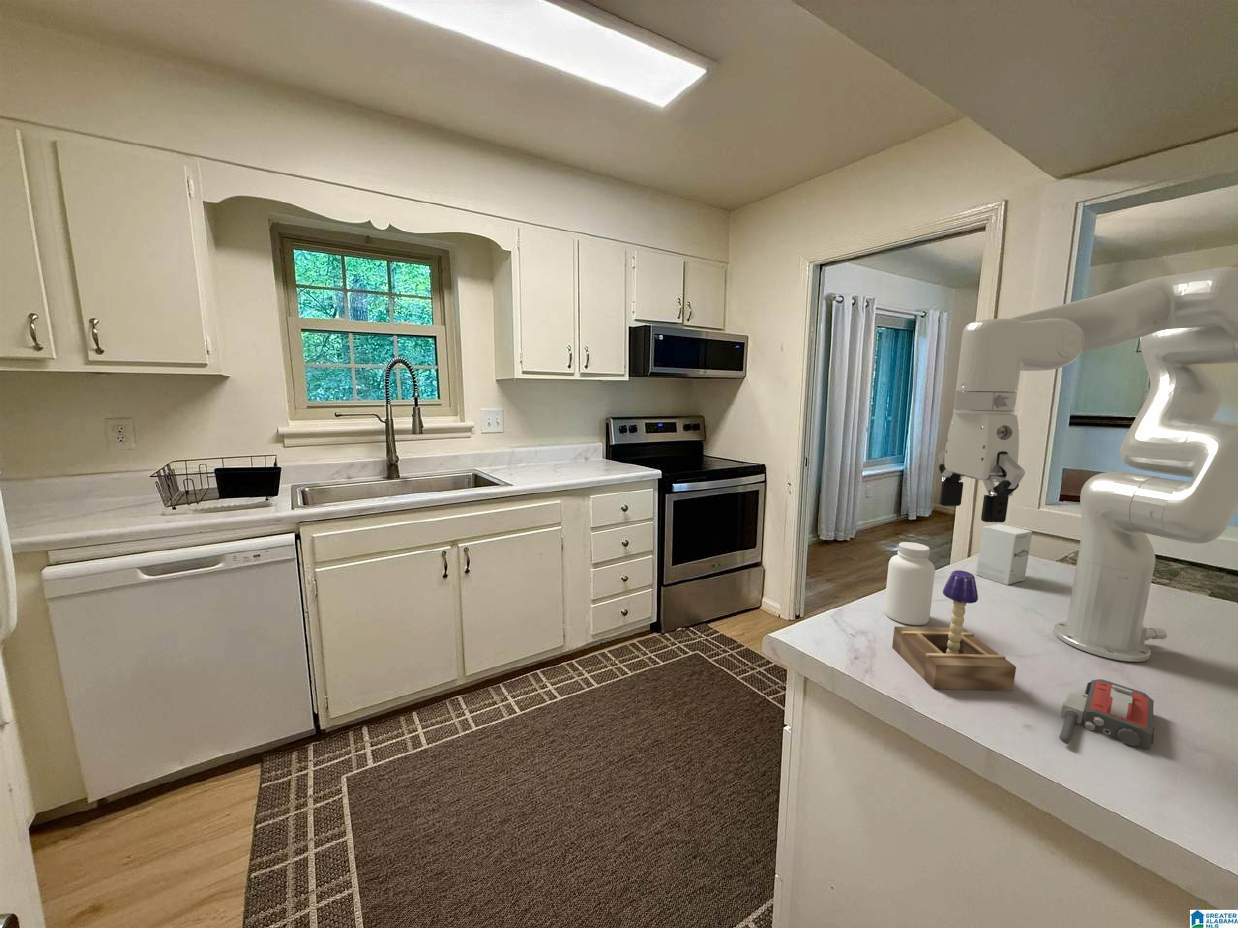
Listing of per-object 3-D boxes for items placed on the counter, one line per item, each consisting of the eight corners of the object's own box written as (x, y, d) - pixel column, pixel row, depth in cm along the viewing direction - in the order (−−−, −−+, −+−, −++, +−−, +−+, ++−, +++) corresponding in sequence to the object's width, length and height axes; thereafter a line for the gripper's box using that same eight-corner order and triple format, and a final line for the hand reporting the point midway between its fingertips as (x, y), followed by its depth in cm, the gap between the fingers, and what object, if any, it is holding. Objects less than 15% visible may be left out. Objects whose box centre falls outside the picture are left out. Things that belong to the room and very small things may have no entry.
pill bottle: (925, 612, 101) (934, 542, 98) (931, 630, 93) (941, 555, 91) (882, 605, 104) (889, 537, 102) (884, 621, 97) (892, 548, 94)
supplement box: (1008, 586, 115) (1015, 534, 113) (974, 574, 122) (981, 525, 120) (1025, 581, 118) (1033, 530, 116) (992, 570, 125) (999, 522, 123)
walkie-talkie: (1070, 684, 77) (1051, 745, 64) (1075, 659, 77) (1056, 715, 63) (1152, 712, 71) (1149, 786, 58) (1158, 684, 70) (1156, 753, 57)
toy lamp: (973, 679, 78) (987, 579, 75) (940, 675, 79) (953, 577, 76) (959, 662, 82) (972, 568, 80) (928, 658, 83) (940, 566, 81)
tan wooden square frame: (960, 648, 87) (963, 626, 86) (1012, 690, 75) (1016, 664, 74) (892, 647, 87) (894, 624, 86) (933, 688, 75) (936, 662, 75)
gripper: (1058, 406, 66) (1039, 529, 68) (969, 402, 83) (957, 500, 86) (1001, 406, 66) (985, 529, 69) (924, 401, 83) (914, 499, 86)
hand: (970, 513), depth 77 cm, fingers open, 9 cm apart
